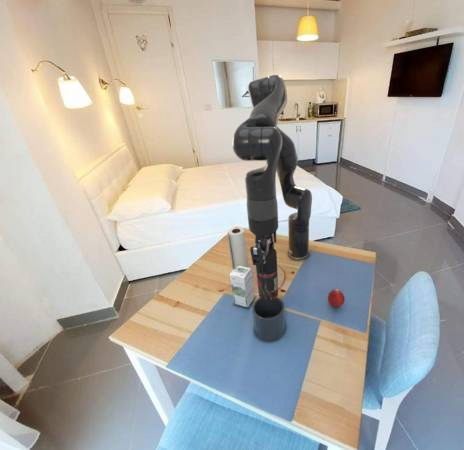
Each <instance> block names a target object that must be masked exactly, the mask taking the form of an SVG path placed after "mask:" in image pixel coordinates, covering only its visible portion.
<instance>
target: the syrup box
mask: <svg viewBox="0 0 464 450" xmlns="http://www.w3.org/2000/svg"><path fill="white" fill-rule="evenodd" d="M252 274H253V273H252V268H251V267H248V268H247V267H242V266H238V265H237V266H236V267H235V268H234V269H233V270H231V272H230V273H229V279H230V285H231V292H232V296H233V303H234V305H237V306H240V307H243V308H249V307H250V305H251V304H252V302H253V300H254V299H255V293H254V284H253V275H252Z"/></svg>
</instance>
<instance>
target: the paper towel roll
mask: <svg viewBox="0 0 464 450" xmlns="http://www.w3.org/2000/svg"><path fill="white" fill-rule="evenodd" d="M245 235H246V234H245V229H244V228H243V227H239V226H238V227H237V226H236V227H232V228H230V229H229V230H228V232H227V242H228V250H229V256H230V263H231V269H232V270H231V271H233V269H234V268H235V267H236V266H237V265H238V266H242V267H247V268H249V261H248V254H247V245H246V237H245Z"/></svg>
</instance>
